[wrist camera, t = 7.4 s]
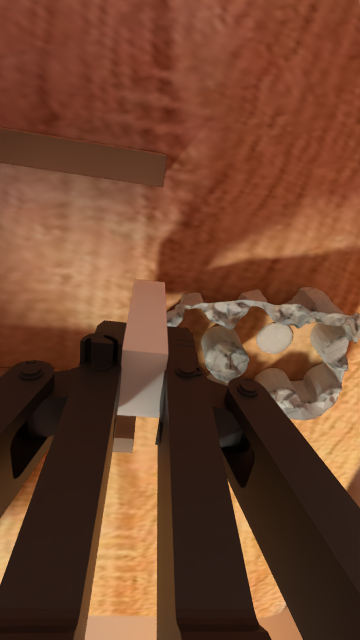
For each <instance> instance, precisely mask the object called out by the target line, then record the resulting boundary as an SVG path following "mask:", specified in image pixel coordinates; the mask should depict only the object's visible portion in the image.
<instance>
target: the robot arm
mask: <svg viewBox="0 0 360 640" xmlns="http://www.w3.org/2000/svg"><path fill="white" fill-rule="evenodd" d="M159 412H160V418H159ZM117 415H126V416H141V417H155V418H159V424H158V430H157V437H156V443H155V444H156V445H158V493H157V640H271V638H270V636H269V633H268V632H267V631H266V630H265V629H264V628H263V627H261V626H260V625H259V623H258V621H257V618H256V615H255V611H254V607H253V602H252V597H251V592H250V587H249V582H248V578H247V573H246V568H245V563H244V558H243V553H242V548H241V544H240V539H239V534H238V529H237V524H236V519H235V514H234V510H233V505H232V500H231V495H230V490H229V485H228V481H229V483H230V486H231V488H232V490H233V492H234V494H235V496H236V498H237V500H238V503H239V505H240V507H241V509H242V511H243V513H244V515H245V517H246V520H247V522H248V524H249V526H250V528H251V530H252V532H253V534H254V536H255V539H256V541H257V543H258V545H259V547H260V549H261V551H262V553H263V556H264V558H265V560H266V562H267V564H268V566H269V568H270V570H271V573H272V575H273V577H274V579H275V581H276V583H277V585H278V587H279V589H280V592H281V594H282V596H283V598H284V600H285V602H286V604H287V606H288V609H289V611H290V613H291V615H292V617H293V619H294V621H295V623H296V626H297V628H298V630H299V632H300V634H301V636H302V638H303V640H360V508H359V507H358V505H357V504H356V503H355V502H354V500H353V499H352V498H351V496H350V495H349V494H348V493H347V491H346V490H345V489H344V487H343V486H342V485H341V484H340V482H339V481H338V480H337V479H336V477H335V476H334V475H333V474H332V472H331V471H330V470H329V468H328V467H327V466H326V465H325V463H324V462H323V461H322V460H321V458H320V457H319V456H318V454H317V453H316V452H315V451H314V449H313V448H312V447H311V446H310V444H309V443H308V442H307V441H306V439H305V438H304V437H303V435H302V434H301V433H300V432H299V430H298V429H297V428H296V427H295V425H294V424H293V423H292V421H291V420H290V419H289V418H288V416H287V415H286V414H285V413H284V411H283V410H282V409H281V408H280V406H279V405H278V404H277V402H276V401H275V400H274V399H273V397H272V396H271V395H270V394H269V392H268V391H267V390H266V388H265V387H263V386H262V385H261V384H260V383H258V382H257V381H255V380H252V379H249V378H244V377H238V378H233V379H232V380H230V381H229V383H228V386H227V385H224V384H220V383H217V382H214V381H212V380H210V379H208V378H207V377H206V374H205V372H204V370H203V368H201V367H200V366H199V363H198V358H197V353H196V348H195V343H194V337H193V334H192V333H191V332H190V331H189V329H188V328H181V327H172V326H167V316H166V296H165V282H157V281H148V280H140V279H135V281H134V286H133V292H132V297H131V303H130V309H129V314H128V320H127V323H124V322H114V321H105V320H104V321H103V322H102V323H100V324H99V325H98V326H97V329H96V332H95V333H94V334H89V335H87V336H85V337H84V338H83V339H82V340H81V344H80V365H79V366H78V367H77V368H74V369H71V370H66V371H59V372H54V368H53V367H52V366H51V365H50V364H48V363H46V362H43V361H35V360H34V361H25V362H22V363H19V364H16V365H15V366H13V367H12V368H10V369H9V370H8V371H7V372H6V373H5V374H3V375H2V376H1V377H0V518H1V516H2V515H3V513H4V512H5V510H6V509H7V507H8V506H9V505H10V503H11V502H12V500H13V499H14V497H15V496H16V494H17V493H18V492H19V490H20V489H21V487H22V486H23V484H24V483H25V482H26V480H27V479H28V477H29V476H30V474H31V473H32V471H33V470H34V469H35V467H36V466H37V464H38V463H39V461H40V460H41V458H42V457H43V456H44V454H45V453H46V451H47V450H48V448H49V447H50V448H49V451H48V454H47V456H46V459H45V462H44V465H43V468H42V470H41V473H40V476H39V479H38V481H37V484H36V487H35V490H34V493H33V495H32V498H31V501H30V504H29V506H28V509H27V512H26V515H25V518H24V520H23V523H22V526H21V529H20V532H19V534H18V537H17V540H16V543H15V545H14V548H13V551H12V554H11V557H10V559H9V562H8V565H7V568H6V570H5V573H4V576H3V579H2V582H1V584H0V640H84V639H85V631H86V625H87V619H88V612H89V605H90V599H91V592H92V585H93V578H94V572H95V565H96V558H97V551H98V545H99V538H100V531H101V524H102V518H103V511H104V504H105V498H106V491H107V484H108V477H109V471H110V464H111V457H112V450H113V444H114V437H115V430H116V421H117ZM227 479H228V480H227Z"/></svg>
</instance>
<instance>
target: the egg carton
mask: <svg viewBox="0 0 360 640" xmlns="http://www.w3.org/2000/svg"><path fill="white" fill-rule="evenodd" d="M251 306H258V307H261V308H263V309H264V310H265V311H266V313H267V314H268V315H269V316H270V318H271V319H272V320H273V321H275V322H274V323H273V322H272V323H269V324H267V325H266V326H264V327H263V328H262V329H261V330H260V331H259V333H258V334H257V338H256V341H257V345H258V347H259V348H260V349H261V350H262V351H263V352H266V353H271V354H277V353H280V352H282V351H284V350H285V349H286V348H287V347H288V346H289V345H290V344H291V342H292V338H293V332H292V331H291V328H290V327H289V326H288V325H294V326H296V327H297V328H301V327H302V326H303V325H305V324H309V323H311V322H316V323H318V324H317V325H316V326H315V327H314V328H313V329H312V331H311V334H310V341H311V344H312V346H313V347H314V348H315V350H316V351H317V352H318V354H319V355H320V356H321V358H322V359H323V362H322V363H321V364H320V365H317V366H314V367H313V368H311V369H309V370H308V371H307V373H306V374H305V376H304V378H303V380H300V381H290V380H289V378H288V376H287V375H286V373H285V372H284V371H282V370H281V369H278V368H268V369H265V370H262V371H261V372H259V373H258V374H257V375H256V376H255V378H254V380H255V381H257V382H258V383H260V384H261V385H262V386H263V387H265V388H266V390H267V391H268V392H269V394H270V395H271V396H272V397H273V399H274V400H275V401H276V402H277V404H278V405H279V406H280V408H281V409H282V410H283V411H284V413H285V414H286V415H287V416H288V418H289V419H297V420H309V419H315V418H317V417H319V416H320V415H322V414H323V413H324V412H326V411H327V410H328V409H329V408H331V407H332V406H333V405H334V404H335V403H336V401H337V398H338V394H339V393H340V391H341V390H342V378H343V374H344V372H345V371H347V370H348V361H347V358H346V351H347V348H348V344H349V341H352V340H353V341H354V342H355V343H357V342H358V340H359V338H360V314H359V313H355V314H353V315H346V314H345V313H344V312H343V311H342V310H340V309H339V308H338V307H337V306H336V305H335V304H334V303H332V302H331V300H330V299H329V297H328V295H327V294H325V293H324V292H323V291H321V290H319V289H317V288H315V287H301V288H299V290H298V292H297V294H296V295H295V296H294V297H293V299H292V300H290V301H289V302H287V303H284V304H282V305H273V304H270V303H268V302H267V299H266V298H265V297H264V296H263V295H262V293H261V291H260V290H259V289H258V290H252V291H248V292H242V293H240V296H239V298H238V299H237V300H236V301H228V302H216V303H205V302H204V300H203V298H202V296H201V293H194V292H193V293H187V294H183V295H182V298H181V301H180V303H179V304H177V305H176V306H175V308H174V309H173V310H170V311H168V312H166V316H167V326H172V327H177V326H178V325H179V324H180V323H181V321H182V320H183V318H184V312H185V310H186V309H193V308H200V309H202V310H203V312H204V313H205V314H206V315H207V317H208V318H209V319H210V321H212V322H214V323H217V324H219V325H217V326H214V327H212V328H210V329H208V330H207V331H206V332H205V333H204V335H203V338H202V340H201V345H202V350H203V355H204V359H205V366H206V368H207V369H208V370H209V371H210V372H211V374H209V375H208V376H206V377H207V378H208V379H210V380H212V381H214V382H217V383H220V384H224V385H227V386H228V383H229V381H230V380H232V379H233V378H238V377H239V376H240V375H242V374H243V373H244V372H245V371H246V369H247V366H248V362H249V357H248V355H247V353H246V351H245V350H244V348H243V346H242V343H241V341H240V339H239V336H238V334H237V332H236V331H235V330H234V329H233V328H235V326H236V324H237V322H238V321H239V320H240V319H241V317H243V316H244V315H245V314H247V312H248V311H249V308H250V307H251Z"/></svg>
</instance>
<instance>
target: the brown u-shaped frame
mask: <svg viewBox="0 0 360 640" xmlns="http://www.w3.org/2000/svg"><path fill="white" fill-rule="evenodd" d="M166 161H167V155H165V154H163V153H157V152H150V151H144V150H138V149H132V148H126V147H120V146H114V145H108V144H102V143H95V142H89V141H83V140H77V139H71V138H65V137H59V136H53V135H47V134H40V133H34V132H28V131H22V130H16V129H10V128H4V127H0V163H5V164H12V165H19V166H25V167H32V168H38V169H45V170H51V171H58V172H65V173H71V174H78V175H84V176H91V177H98V178H104V179H111V180H117V181H124V182H131V183H137V184H144V185H150V186H157V187H163V186H164V178H165V169H166ZM9 369H10V368H5V367H0V377H1V376H2V375H3V374H5V373H6V372H7V371H8V370H9ZM135 420H136V416H126V415H117V421H116V430H115V437H114V444H113V450H112V452H122V453H132V451H133V442H134V432H135ZM49 448H50V447H49Z"/></svg>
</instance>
